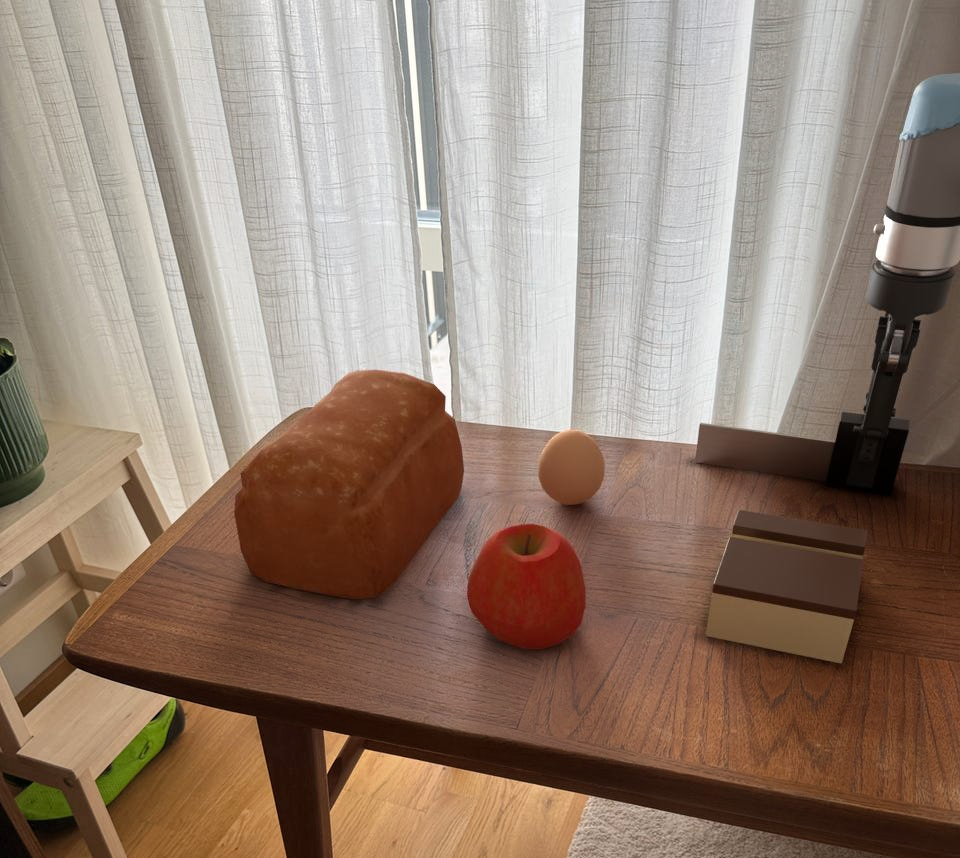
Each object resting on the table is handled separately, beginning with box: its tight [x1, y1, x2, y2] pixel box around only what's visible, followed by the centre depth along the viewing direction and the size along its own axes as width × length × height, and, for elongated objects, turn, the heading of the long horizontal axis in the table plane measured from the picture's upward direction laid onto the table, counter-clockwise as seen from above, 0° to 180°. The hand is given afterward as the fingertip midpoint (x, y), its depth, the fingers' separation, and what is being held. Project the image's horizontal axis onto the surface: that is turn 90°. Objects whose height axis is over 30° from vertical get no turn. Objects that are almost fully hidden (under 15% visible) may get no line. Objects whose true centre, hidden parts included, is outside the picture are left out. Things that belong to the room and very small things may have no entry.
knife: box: [694, 411, 911, 496], centre depth 104 cm, size 22×2×8 cm, turn 68°
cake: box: [705, 536, 864, 664], centre depth 84 cm, size 12×8×6 cm, turn 68°
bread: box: [233, 369, 465, 600], centre depth 96 cm, size 17×24×15 cm
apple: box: [466, 523, 587, 650], centre depth 84 cm, size 11×11×11 cm
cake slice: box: [731, 509, 868, 559], centre depth 89 cm, size 12×3×6 cm, turn 68°
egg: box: [537, 429, 606, 506], centre depth 101 cm, size 7×7×8 cm
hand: (860, 477), depth 103 cm, fingers closed on knife, 2 cm apart
